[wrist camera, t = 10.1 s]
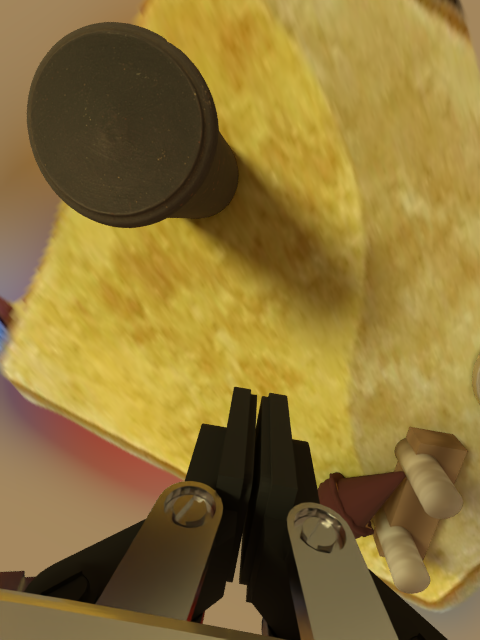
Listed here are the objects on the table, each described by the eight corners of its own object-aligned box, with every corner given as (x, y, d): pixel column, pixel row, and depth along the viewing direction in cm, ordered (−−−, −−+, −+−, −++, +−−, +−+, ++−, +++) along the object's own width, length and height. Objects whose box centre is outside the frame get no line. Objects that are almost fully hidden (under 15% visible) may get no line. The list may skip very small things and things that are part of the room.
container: (158, 113, 33) (14, -20, 14) (252, 137, 33) (233, 38, 14) (143, 207, 36) (4, 202, 17) (230, 230, 36) (190, 251, 17)
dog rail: (453, 434, 41) (496, 485, 33) (411, 541, 45) (441, 608, 38) (402, 425, 41) (434, 474, 33) (366, 533, 46) (386, 598, 38)
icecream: (384, 462, 35) (270, 526, 40) (435, 524, 35) (312, 582, 39) (380, 431, 42) (282, 489, 47) (422, 482, 41) (318, 536, 46)
